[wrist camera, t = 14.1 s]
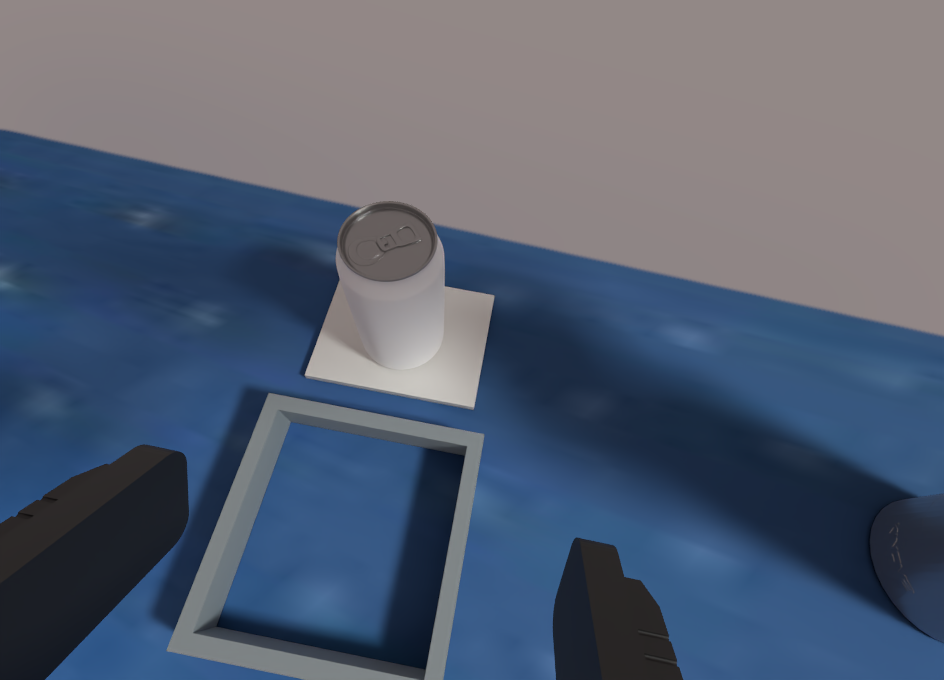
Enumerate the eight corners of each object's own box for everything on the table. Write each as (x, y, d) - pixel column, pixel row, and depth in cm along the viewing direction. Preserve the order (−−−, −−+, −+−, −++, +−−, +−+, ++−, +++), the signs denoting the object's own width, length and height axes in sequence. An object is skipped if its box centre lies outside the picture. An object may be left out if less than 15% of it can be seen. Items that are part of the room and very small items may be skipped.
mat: (493, 299, 40) (494, 295, 39) (473, 409, 35) (474, 407, 35) (345, 271, 40) (344, 267, 39) (306, 378, 35) (304, 375, 35)
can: (349, 319, 37) (311, 219, 26) (421, 288, 39) (413, 181, 28) (383, 386, 35) (357, 305, 24) (458, 349, 37) (465, 259, 26)
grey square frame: (480, 444, 34) (484, 434, 31) (438, 693, 27) (438, 707, 25) (282, 406, 34) (268, 392, 32) (193, 642, 28) (166, 651, 25)
